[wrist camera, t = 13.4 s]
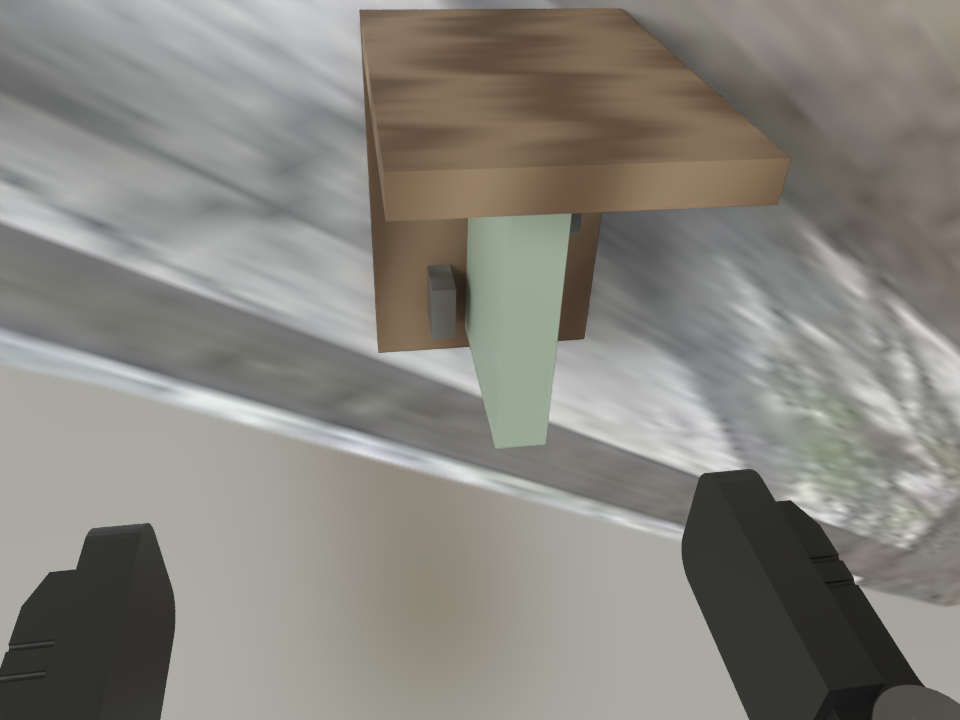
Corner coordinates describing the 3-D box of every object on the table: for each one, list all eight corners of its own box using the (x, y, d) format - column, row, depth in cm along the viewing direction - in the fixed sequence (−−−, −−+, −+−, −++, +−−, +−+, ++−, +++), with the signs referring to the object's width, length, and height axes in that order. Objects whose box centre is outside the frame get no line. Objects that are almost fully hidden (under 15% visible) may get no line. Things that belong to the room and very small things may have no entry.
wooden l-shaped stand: (377, 340, 46) (400, 584, 33) (359, 9, 36) (383, 172, 22) (579, 327, 48) (679, 554, 35) (620, 8, 37) (791, 158, 24)
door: (465, 326, 45) (495, 448, 37) (470, 118, 38) (509, 215, 30) (524, 322, 46) (566, 442, 38) (540, 116, 39) (597, 211, 31)
